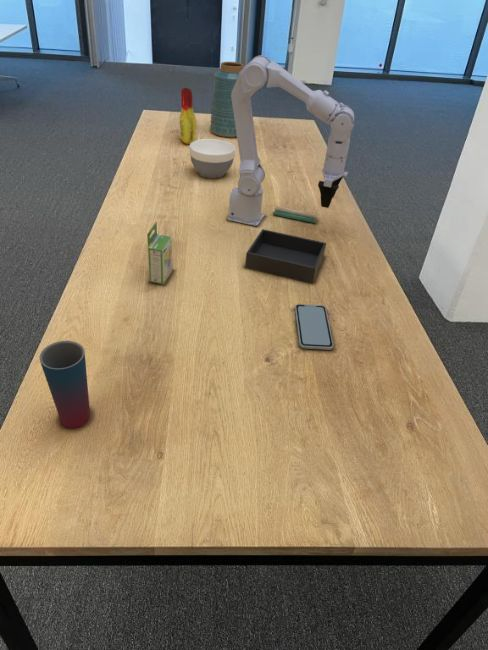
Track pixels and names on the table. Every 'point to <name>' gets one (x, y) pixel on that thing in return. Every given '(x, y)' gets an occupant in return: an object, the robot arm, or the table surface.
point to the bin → (286, 255)
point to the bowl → (212, 157)
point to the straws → (295, 214)
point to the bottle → (187, 117)
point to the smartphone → (313, 327)
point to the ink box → (159, 256)
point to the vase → (224, 100)
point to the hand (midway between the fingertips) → (327, 201)
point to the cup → (67, 381)
